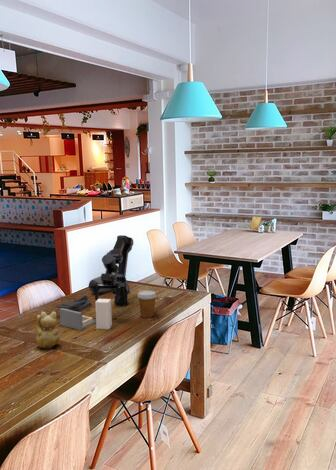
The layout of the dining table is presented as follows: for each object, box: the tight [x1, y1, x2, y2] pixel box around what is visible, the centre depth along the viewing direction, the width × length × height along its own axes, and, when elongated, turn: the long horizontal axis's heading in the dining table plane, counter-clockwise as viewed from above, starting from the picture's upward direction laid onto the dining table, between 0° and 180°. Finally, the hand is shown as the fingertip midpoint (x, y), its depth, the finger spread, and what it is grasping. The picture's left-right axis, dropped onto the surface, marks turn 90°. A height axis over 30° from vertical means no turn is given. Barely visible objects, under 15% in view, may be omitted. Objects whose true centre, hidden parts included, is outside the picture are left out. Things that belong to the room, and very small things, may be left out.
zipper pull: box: [55, 294, 92, 312], centre depth 222 cm, size 9×7×25 cm
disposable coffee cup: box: [136, 289, 157, 318], centre depth 213 cm, size 10×10×12 cm
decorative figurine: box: [35, 311, 61, 350], centre depth 177 cm, size 10×8×15 cm
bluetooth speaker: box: [88, 272, 118, 294], centre depth 256 cm, size 23×9×10 cm, turn 145°
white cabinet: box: [95, 298, 113, 330], centre depth 199 cm, size 6×6×13 cm
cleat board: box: [59, 308, 96, 331], centre depth 203 cm, size 11×13×8 cm
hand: (105, 303), depth 201 cm, fingers open, 9 cm apart
